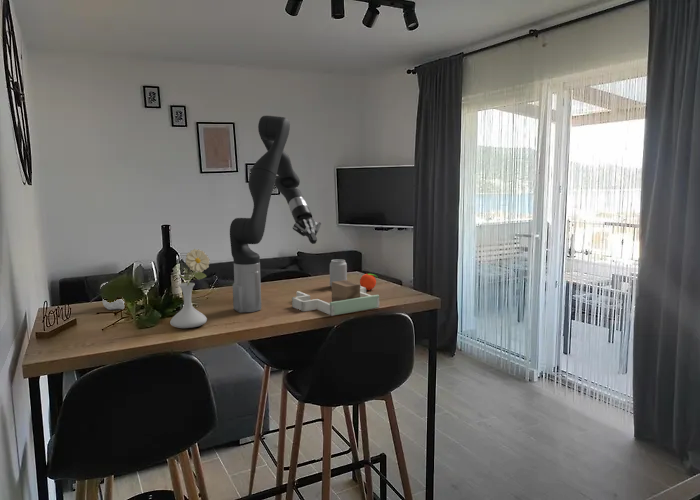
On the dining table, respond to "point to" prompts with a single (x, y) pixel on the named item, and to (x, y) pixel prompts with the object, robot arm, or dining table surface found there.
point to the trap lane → (336, 303)
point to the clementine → (368, 281)
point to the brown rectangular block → (345, 290)
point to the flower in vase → (188, 313)
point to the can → (338, 270)
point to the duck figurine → (113, 303)
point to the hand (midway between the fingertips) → (314, 242)
